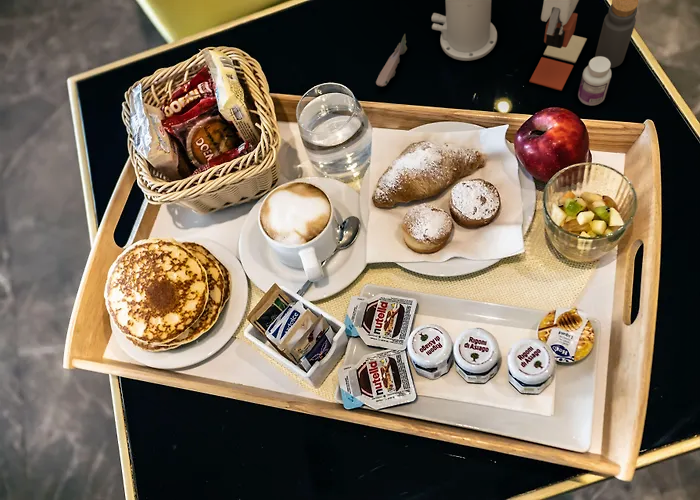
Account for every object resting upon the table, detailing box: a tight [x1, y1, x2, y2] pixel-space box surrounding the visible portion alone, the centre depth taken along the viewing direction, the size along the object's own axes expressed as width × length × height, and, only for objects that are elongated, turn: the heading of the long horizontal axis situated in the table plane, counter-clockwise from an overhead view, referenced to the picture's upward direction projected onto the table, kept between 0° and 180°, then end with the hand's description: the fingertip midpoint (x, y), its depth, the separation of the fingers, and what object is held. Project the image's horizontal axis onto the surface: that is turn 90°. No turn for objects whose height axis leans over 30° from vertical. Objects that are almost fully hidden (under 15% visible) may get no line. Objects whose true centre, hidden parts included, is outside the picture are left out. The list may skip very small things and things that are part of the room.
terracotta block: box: [543, 12, 579, 47], centre depth 118 cm, size 4×4×4 cm
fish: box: [375, 33, 408, 87], centre depth 135 cm, size 3×14×5 cm, turn 153°
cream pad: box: [543, 34, 588, 64], centre depth 132 cm, size 7×7×1 cm
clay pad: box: [529, 56, 574, 92], centre depth 129 cm, size 7×7×1 cm
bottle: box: [594, 0, 639, 69], centre depth 122 cm, size 6×6×15 cm
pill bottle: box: [577, 56, 612, 106], centre depth 121 cm, size 5×5×10 cm
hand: (558, 35), depth 119 cm, fingers closed on terracotta block, 4 cm apart
